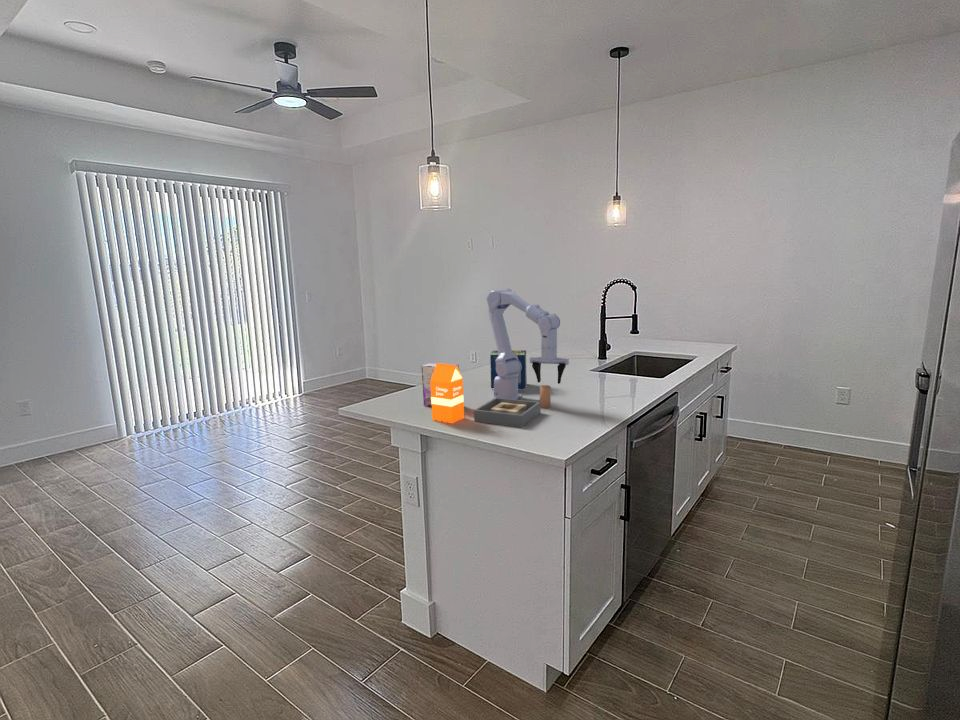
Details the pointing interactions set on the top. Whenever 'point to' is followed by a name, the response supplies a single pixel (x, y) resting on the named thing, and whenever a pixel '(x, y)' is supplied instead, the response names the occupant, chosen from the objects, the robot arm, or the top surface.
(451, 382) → the orange juice
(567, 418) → the top surface
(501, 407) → the plate
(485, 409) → the tray
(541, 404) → the peg
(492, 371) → the protein box
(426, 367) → the candy box
